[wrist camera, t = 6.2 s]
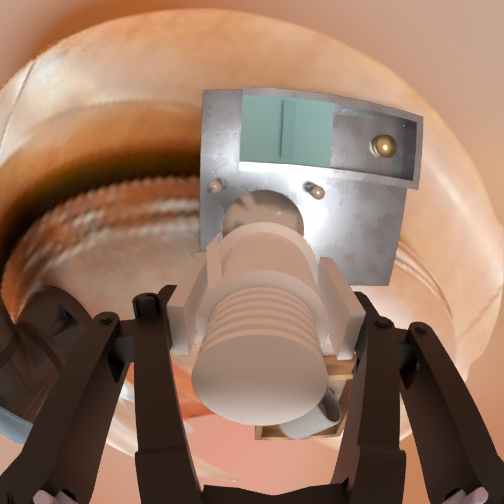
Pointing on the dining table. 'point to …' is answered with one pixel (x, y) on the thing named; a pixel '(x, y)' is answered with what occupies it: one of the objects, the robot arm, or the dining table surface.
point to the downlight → (261, 327)
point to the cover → (286, 130)
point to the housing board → (316, 182)
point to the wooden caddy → (338, 372)
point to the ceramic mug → (314, 419)
